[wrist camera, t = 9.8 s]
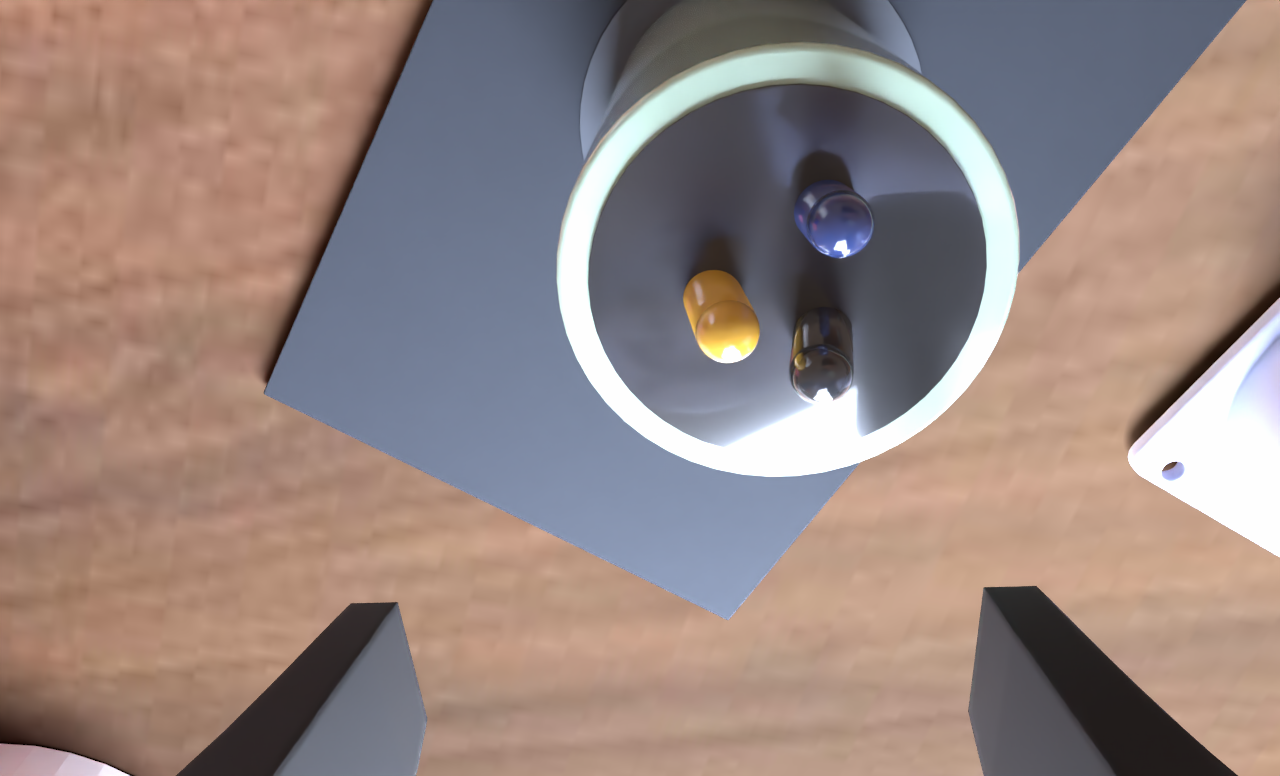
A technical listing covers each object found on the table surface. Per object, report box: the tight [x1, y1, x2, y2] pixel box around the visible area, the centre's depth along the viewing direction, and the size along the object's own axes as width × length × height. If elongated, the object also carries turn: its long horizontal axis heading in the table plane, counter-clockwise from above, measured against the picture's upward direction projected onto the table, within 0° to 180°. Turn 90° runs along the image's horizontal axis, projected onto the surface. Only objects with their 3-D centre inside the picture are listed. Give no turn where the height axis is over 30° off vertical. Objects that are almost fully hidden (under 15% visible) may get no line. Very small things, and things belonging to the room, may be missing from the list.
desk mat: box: [264, 0, 1246, 620], centre depth 18 cm, size 13×22×1 cm, turn 150°
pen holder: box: [556, 0, 1019, 477], centre depth 14 cm, size 5×5×10 cm
